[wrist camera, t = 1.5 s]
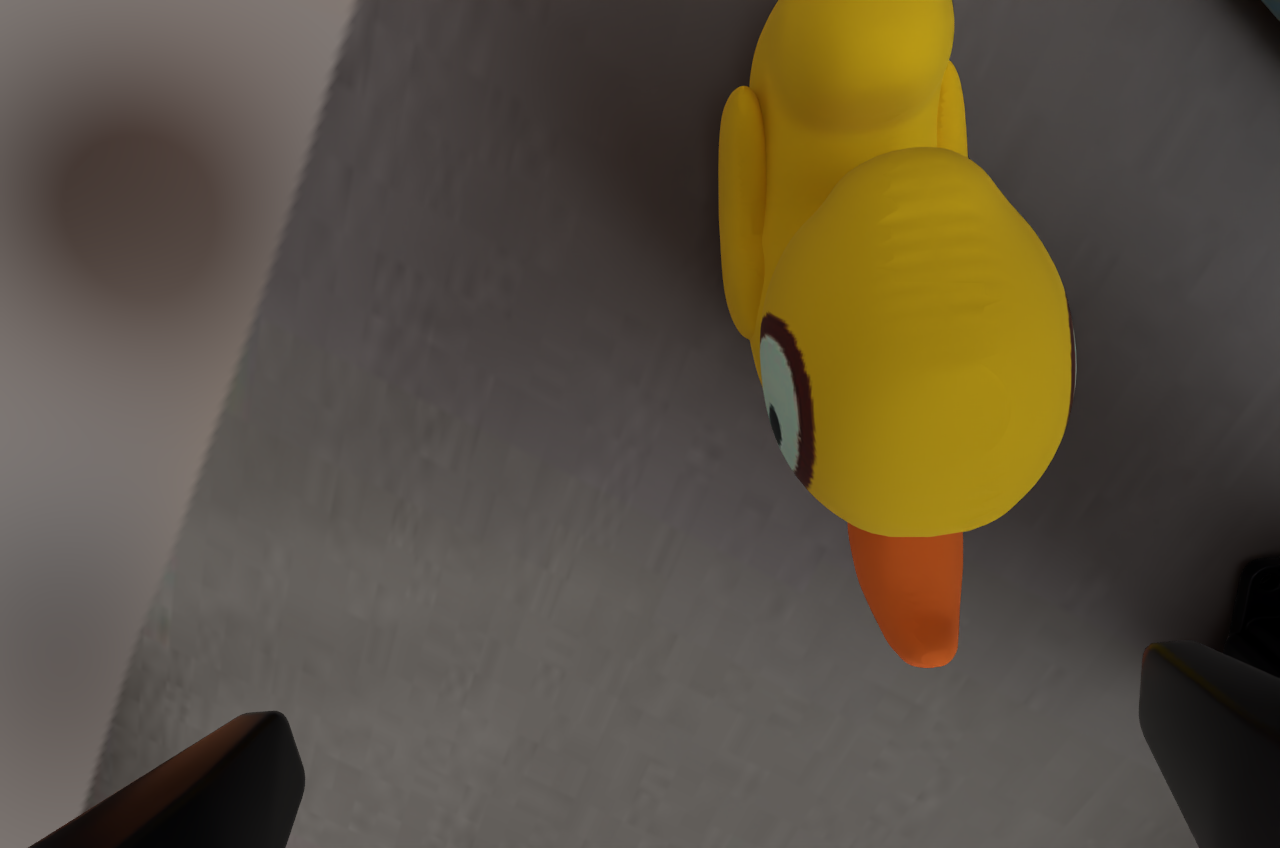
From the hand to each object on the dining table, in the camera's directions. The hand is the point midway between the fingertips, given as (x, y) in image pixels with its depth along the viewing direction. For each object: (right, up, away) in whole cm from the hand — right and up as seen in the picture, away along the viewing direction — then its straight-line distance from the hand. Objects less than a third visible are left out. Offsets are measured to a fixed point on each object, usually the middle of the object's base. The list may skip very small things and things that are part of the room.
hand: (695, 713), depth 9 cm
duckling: (+4, +7, +11) cm, 14 cm away
